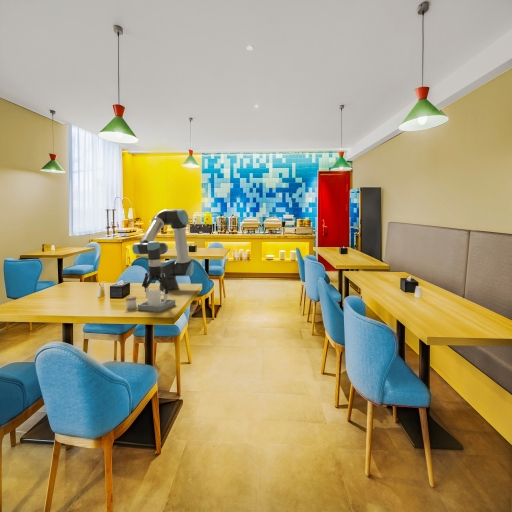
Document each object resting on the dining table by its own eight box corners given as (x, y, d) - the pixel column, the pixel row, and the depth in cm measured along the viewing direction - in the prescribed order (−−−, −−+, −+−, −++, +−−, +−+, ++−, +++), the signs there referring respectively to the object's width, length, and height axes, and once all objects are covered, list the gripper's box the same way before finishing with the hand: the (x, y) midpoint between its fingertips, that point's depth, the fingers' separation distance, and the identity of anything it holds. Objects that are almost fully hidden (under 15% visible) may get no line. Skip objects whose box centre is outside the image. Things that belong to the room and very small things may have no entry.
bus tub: (154, 303, 218) (154, 298, 217) (175, 305, 213) (175, 300, 212) (138, 310, 202) (137, 304, 202) (160, 312, 197) (160, 306, 197)
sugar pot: (130, 306, 212) (130, 296, 211) (139, 306, 210) (138, 296, 209) (123, 308, 206) (123, 298, 205) (132, 309, 204) (131, 299, 203)
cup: (151, 304, 212) (150, 289, 211) (168, 305, 211) (168, 290, 209) (145, 308, 204) (144, 292, 203) (163, 308, 202) (163, 293, 201)
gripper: (134, 265, 204) (137, 298, 207) (168, 267, 196) (170, 301, 199) (142, 264, 211) (144, 295, 214) (175, 265, 203) (176, 297, 206)
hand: (156, 298), depth 207 cm, fingers open, 13 cm apart
